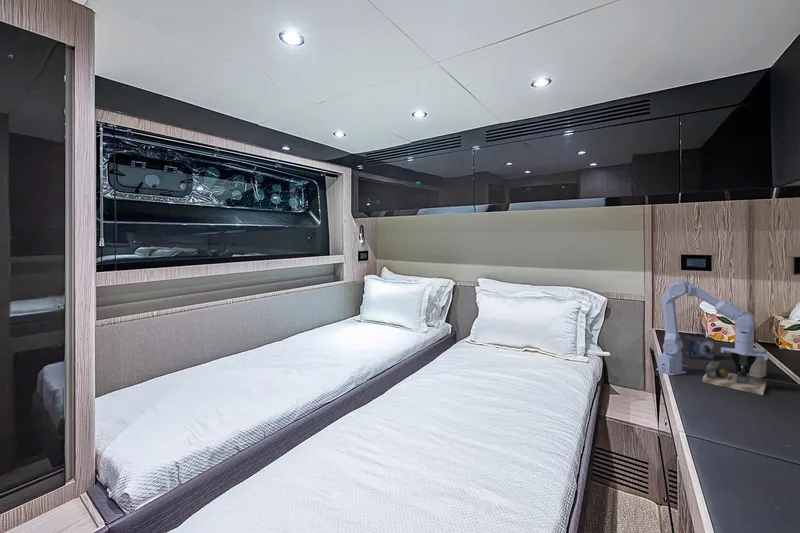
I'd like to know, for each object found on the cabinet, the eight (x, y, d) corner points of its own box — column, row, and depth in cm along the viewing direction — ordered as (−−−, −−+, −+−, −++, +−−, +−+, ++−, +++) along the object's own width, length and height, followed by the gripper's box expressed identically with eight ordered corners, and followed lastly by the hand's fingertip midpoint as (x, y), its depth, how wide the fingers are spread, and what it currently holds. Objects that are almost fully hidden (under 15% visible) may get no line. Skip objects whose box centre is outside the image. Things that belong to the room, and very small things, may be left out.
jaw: (736, 382, 152) (737, 366, 151) (739, 376, 158) (740, 361, 157) (746, 384, 150) (746, 368, 149) (749, 378, 156) (749, 363, 155)
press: (702, 381, 160) (703, 366, 159) (708, 374, 167) (708, 359, 167) (763, 395, 145) (763, 378, 144) (766, 386, 153) (766, 370, 152)
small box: (689, 358, 188) (690, 339, 187) (684, 354, 194) (685, 335, 193) (714, 360, 184) (715, 340, 183) (708, 356, 190) (709, 336, 189)
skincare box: (760, 378, 160) (761, 352, 159) (747, 375, 164) (748, 349, 163) (766, 375, 163) (767, 349, 162) (753, 372, 167) (754, 347, 166)
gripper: (719, 339, 155) (718, 370, 156) (767, 346, 144) (766, 379, 145) (722, 336, 160) (721, 365, 161) (769, 342, 149) (767, 374, 150)
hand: (743, 371), depth 154 cm, fingers closed on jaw, 2 cm apart
